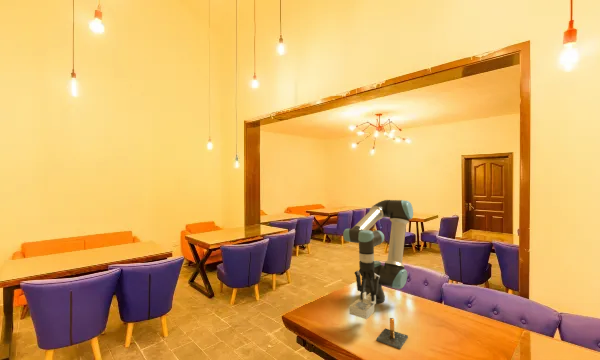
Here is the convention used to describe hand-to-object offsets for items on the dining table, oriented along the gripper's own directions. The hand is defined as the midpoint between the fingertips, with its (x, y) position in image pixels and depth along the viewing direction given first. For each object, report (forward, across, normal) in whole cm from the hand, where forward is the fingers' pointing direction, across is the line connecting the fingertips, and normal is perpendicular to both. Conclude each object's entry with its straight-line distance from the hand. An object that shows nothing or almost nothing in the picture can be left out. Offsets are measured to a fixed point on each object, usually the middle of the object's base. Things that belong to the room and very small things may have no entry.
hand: (368, 306), depth 140 cm
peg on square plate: (+10, +14, -5) cm, 18 cm away
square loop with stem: (+1, 0, -3) cm, 3 cm away
